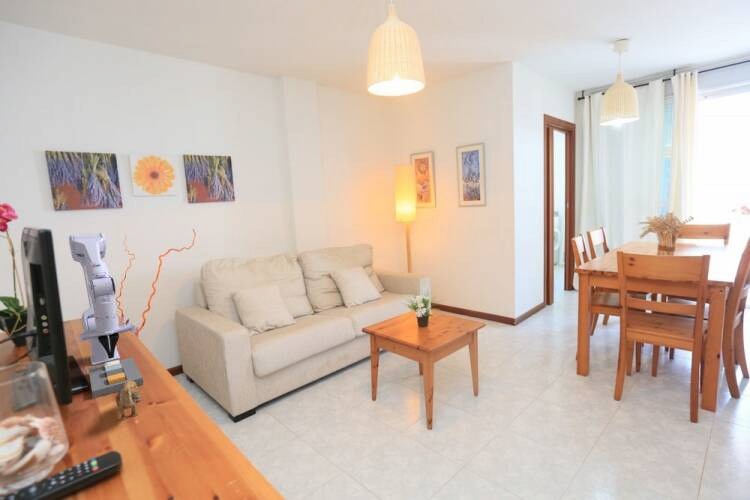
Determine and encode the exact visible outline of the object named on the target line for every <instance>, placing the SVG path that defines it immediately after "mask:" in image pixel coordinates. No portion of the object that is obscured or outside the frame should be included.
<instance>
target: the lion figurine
mask: <svg viewBox="0 0 750 500" xmlns="http://www.w3.org/2000/svg"><path fill="white" fill-rule="evenodd" d="M142 394H143V392H142V391H139V387H138V386H137V384H136V383H135V382H134V381H129V382H127V383H125V384H124V385H123V388H121V389H120V390H119V391H118V392H117V394H116V397H115V398H116V400H115V402H116V406H117V408H118V412H119V414H120V418H119V421H125V420H126V417H127V416H126V414H125V410H129V409H131V411H130V414H131V416H132V417H136V416H138V415H139V412H137V408H136V407H137V403H136V402H139V403H140V401H141V398H140V397H141V396H142Z"/></svg>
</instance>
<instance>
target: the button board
mask: <svg viewBox="0 0 750 500" xmlns="http://www.w3.org/2000/svg"><path fill="white" fill-rule="evenodd" d="M118 360H119V361H120V364H121V365H122V369H123V372H124V375H125V379H126V380H125V381H121V382H118V383H114V384H110V385H108V377H107V376H106V370H105V368H104V363H103V364H100V365H94V366H91V367H88V374H89V379H90V387H91V393H92V398H93V399H95V398H99V397H103V396H106V395H111V394H114V393H118V392H119V390H120V389H121V388H123V385H124V384H125V383H127V382H129V381H134V382H135V383H136V384H137V387H138V386H142V384H143V385H144V381H143V376H142V374H141V372H140V370H139V367H138V365H137V364H136V361H135V359H134V357H132V356H131V357H129V358H125V359H121V360H120V359H118Z"/></svg>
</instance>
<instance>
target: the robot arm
mask: <svg viewBox="0 0 750 500" xmlns="http://www.w3.org/2000/svg"><path fill="white" fill-rule="evenodd" d="M68 242H69V249H70V253H71V258H72V259H73V261H74V262H77V263H79V264H80V265H81V268H82V270H83V275H84V282H85V287H86V292H87V297H88V304H89V308H87V309H86V310H85V311H84V312H83V313H82V315H81V324H82V330H83V331H82V332H83V333H80V334H78V339H79V342H80V343H81V342H85V341H88V340H89V344H90V352H91V356H90V358H89V359H90V363H91V366H96V365H98V364H102V363H103V364H104V363H107V362H111V361H115V360H120V359H121V356H120V353H119V352H118V349H117V343H118V341H119V340H120V339H119V338H120V334H122V333H123V334H124V333H128V332H135V331H136V325H135V323H129V324H123V325H120V322H119V321H120V320H119V316H118V314H117V305H116V299H115V295H116V293H117V286H116V282H115V278H114V277H113V276H112V274H110V271H109V268H108V265H107V264H106V262H104V261H102V260H103V259H105V256H106V250H107V240H106V236H105V234H104V233H103V232H100V233H89V234H87V233H86V234H77V235H76V234H71V235H69V236H68Z"/></svg>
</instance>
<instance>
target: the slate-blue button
mask: <svg viewBox="0 0 750 500" xmlns="http://www.w3.org/2000/svg"><path fill="white" fill-rule="evenodd" d="M105 369H106V376H111V375H115V374H119V373H123V369H122V365H121V364H117V365H113V366H109V367H105Z"/></svg>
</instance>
